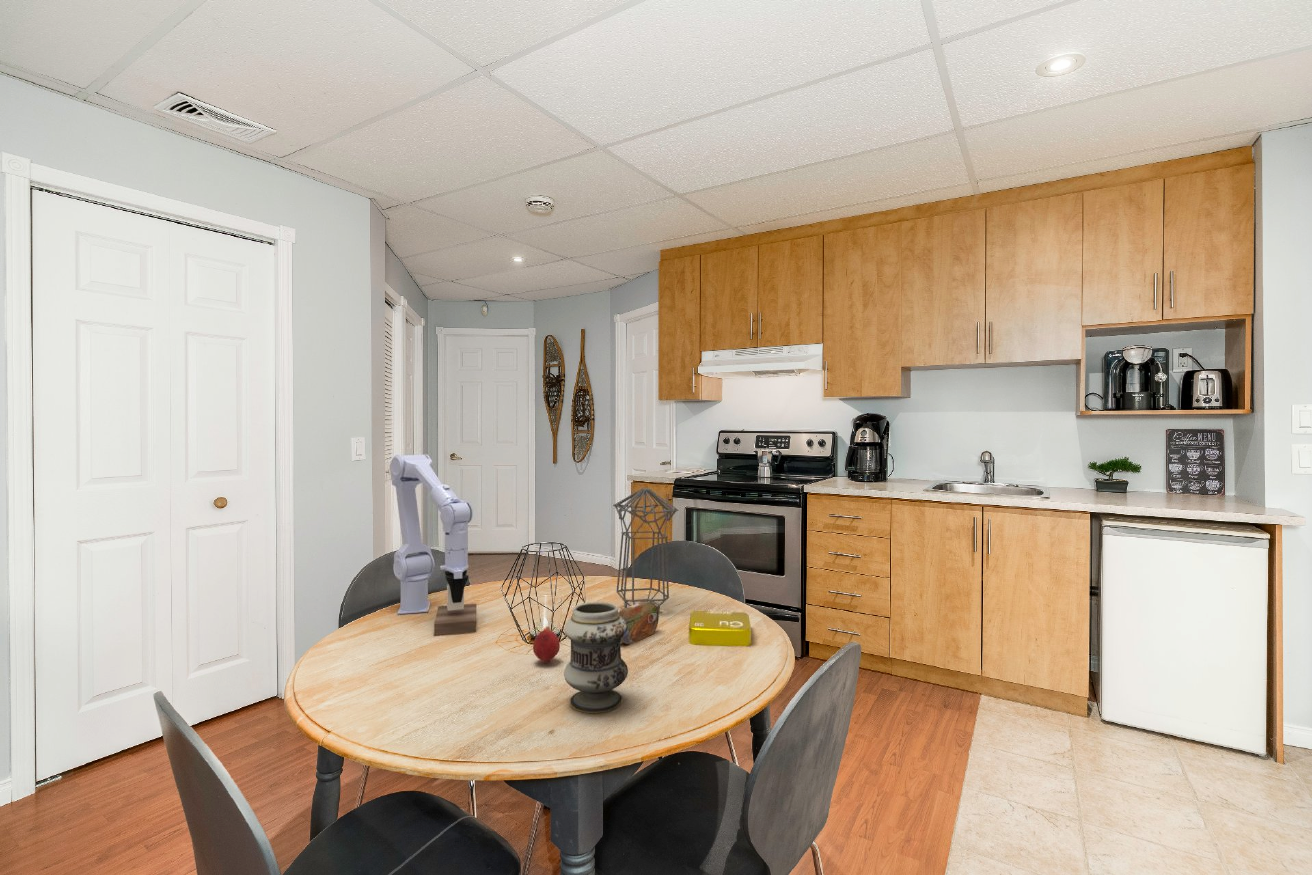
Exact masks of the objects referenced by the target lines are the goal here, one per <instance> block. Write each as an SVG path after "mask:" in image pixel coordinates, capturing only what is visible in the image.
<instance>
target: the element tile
mask: <svg viewBox="0 0 1312 875" xmlns="http://www.w3.org/2000/svg"><path fill="white" fill-rule="evenodd" d="M688 622H689V623H688V643H689V644H690V645H693V646H707V647H708V646H709V647H710V646H711V647H712V646H713V647H715V646H716V647H733V646H748V647H750V646H751V645H752V628H751V621H750V617H749V614H748V613H746V612H742V611H741V612H739V611H738V612H737V611H718V610H717V611H708V610H706V611H705V610H703V611H702V610H694V611H692V612H690V616H689V621H688ZM750 644H751V645H750ZM749 645H750V646H749Z"/></svg>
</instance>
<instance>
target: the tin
mask: <svg viewBox="0 0 1312 875" xmlns="http://www.w3.org/2000/svg"><path fill="white" fill-rule="evenodd" d="M656 606H657V605H656V604H655V603H653V602H652V601H651V602H650V601H648V602H636V603H635V605H634V604H632V605H631V606H629V605H628V606H627V608H624V607H623V608H622V609H620V610H618V613H619V616H621V617H622V618H623V619H624V620H625V622H626V624H627V630H626V633H625V635H624V636H623V637H622V638H621V642H620V644H621V643H622V644H626V645H633V644H635V643H638V642H640V641H641V640H644V639H647V638H648V637H651V636H652V635H653V634H654V633H655V632H656V630H657V628H658V625H659V619H660V618H659V615H660V614H659V613H660V612H659V613H658V609H657V607H656Z"/></svg>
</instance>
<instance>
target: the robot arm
mask: <svg viewBox="0 0 1312 875" xmlns="http://www.w3.org/2000/svg"><path fill="white" fill-rule="evenodd" d="M433 466H434V464H433V460H432V458H431V457H430V455H429V454H427V453H422V454H409V455H408V454H404V455H400V454H395V455H394V456H393V457H392V459H391V461H390V463H389V471H390V472H389V473H390V480H391V485H392V486H394V488H395V492H396V494H395V495H396V500H397V501H396V502H397V507H398V508H397V509H398V510H397V511H398V517H399V518H398V519H399V524H400V534H401V541H402V545H401V547H399V549H397V551H395V553H394V554H393V564H392V566H393V567H392V568H393V573H394V575H395V577H396V578H397V579H398V580H399V581H400V606H399V609H398V610H397V615H405V614H416V613H417V614H419V613H427V612H429V610H430V606H431V601H429V600H428V599H429V596H428V595H429V583H428V581H429V580H428V579H429V578H430V577H431V574H432V573H433V572H434V570H435V568H436V567H435V566H436V564H435V559H434V556H433V554H432V548H431V547H430V546H428V545H427V544H425V543H424V542H422V541H423V540H422V533H421V526H420V525H421V524H420V518H419V517H420V516H419V510H418V509H419V508H418V501H417V493H416V488H417V487H418V485H420V484H422V485H424V487H426V489H428V491H429V492H430V494H429V499H430V500H431V502H432V503H433V504H434V505H435V507H436V508H437V509H438V511H439V512H440V514H439V517H440V518H439V519H440V520H441V524H442V530H443V531H442V532H444V564H443V565H440V566H439V567H440V570H441V571H443V570H445V571H444V574H445V580H446V582H447V584H449V587H450V591H451V597H452V601H453V603H459V602H461V601H462V597H463V591H464V592H465V586H466V584H467V581H468V580H469V577H470V576H469V575H466V574H467V572H468V569H469V565H470V564H469V559H468V558H469V549H468V548H469V527H468V526H469V523H471V521H472V519H473V515H474V514H473V508H472V506H471V504H470V502H469V501H466V500H465V501H464V500H463V499H460V498H459V497H458V495H457V494H456V493H455V492H454V491H453V489H451V486H450V485H449V484H445V483H442V482H441V480H440V479H439V477H438V475H437V474H436V473H435V471H434V470H433ZM412 554H413V555H412Z"/></svg>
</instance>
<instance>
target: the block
mask: <svg viewBox="0 0 1312 875" xmlns="http://www.w3.org/2000/svg"><path fill="white" fill-rule="evenodd" d="M464 602H465V590H464V591H463V597H462V601H461V602H459V603H453V601H452V597H451V591H450V587H449V584H448V583H447V584H446V606H447V609H448V611H450V610H460V609H464V604H465V603H464Z"/></svg>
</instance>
